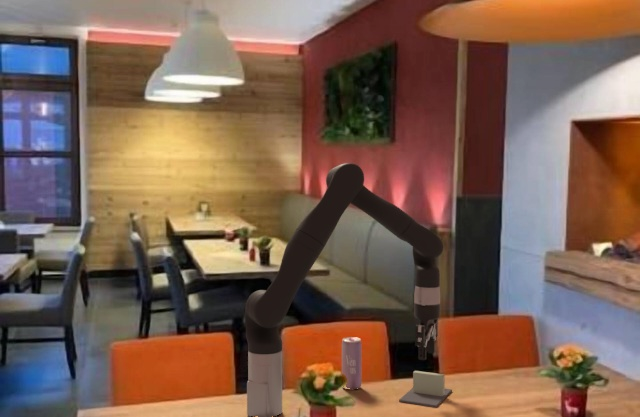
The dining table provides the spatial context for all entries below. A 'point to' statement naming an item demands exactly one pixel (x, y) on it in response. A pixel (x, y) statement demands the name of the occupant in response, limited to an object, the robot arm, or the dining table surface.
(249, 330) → the robot arm
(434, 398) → the mat
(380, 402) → the dining table surface
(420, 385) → the board
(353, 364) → the beverage can
